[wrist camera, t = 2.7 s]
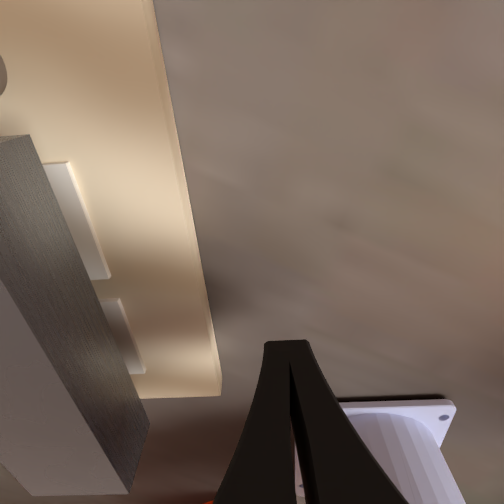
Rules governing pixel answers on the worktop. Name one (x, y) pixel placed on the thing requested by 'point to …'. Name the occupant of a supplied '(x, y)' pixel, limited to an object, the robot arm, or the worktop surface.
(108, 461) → the swing bar
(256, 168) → the worktop surface
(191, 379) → the tan piece
